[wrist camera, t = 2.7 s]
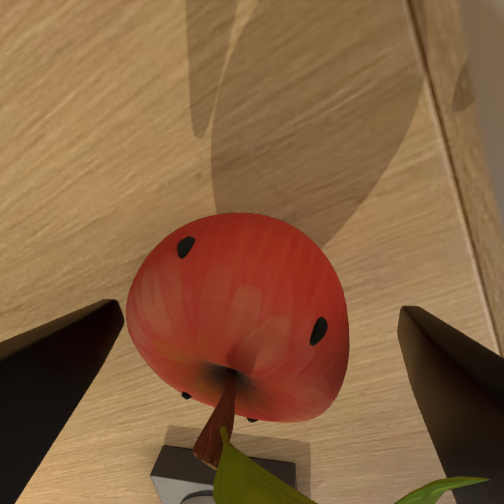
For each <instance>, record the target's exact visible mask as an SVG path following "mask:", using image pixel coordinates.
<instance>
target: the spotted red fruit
mask: <svg viewBox="0 0 504 504" xmlns="http://www.w3.org/2000/svg"><path fill="white" fill-rule="evenodd" d="M126 320H127V327H128V331H129V334H130V336H131V339H132V341H133V343H134V345H135V347H136V348H137V350H138V352H139V353H140V355H141V356H142V357H143V359H144V360H145V361H146V363H147V364H148V365H149V366H150V367H151V369H152V370H153V371H154V372H155V373H156V374H157V375H158V376H159V377H160V378H161V379H162V380H163V381H165V382H166V383H167V384H168V385H170V386H171V387H173V388H174V389H176V390H177V391H179V392H180V393H182V397H183V398H185V399H186V400H187V399H189V398H192V399H195V400H197V401H199V402H202V403H204V404H207V405H209V406H212V407H215V410H214V411H213V413H212V415H211V417H210V418H209V420H208V422H207V424H206V425H205V427H204V429H203V430H202V432H201V434H200V436H199V437H198V439H197V441H196V443H195V445H194V448H193V454H194V456H196V457H197V458H198V459H200V460H201V461H202V462H204V463H205V464H207V465H208V466H210V467H211V468H213V469H215V470H217V472H216V476H215V479H214V483H213V500H214V501H215V503H216V504H317V503H316V502H314V501H312V500H310V499H309V498H307V497H306V496H304V495H303V494H301V493H300V492H298V491H297V490H295V489H294V488H292V487H291V486H289V485H288V484H286V483H285V482H283V481H282V480H280V479H279V478H277V477H276V476H274V475H273V474H271V473H270V472H268V471H267V470H265V469H264V468H262V467H261V466H259V465H258V464H257V463H255V462H254V461H252V460H251V459H250V458H248V457H247V456H245V455H244V454H243V453H241V452H240V451H239V450H237V449H236V448H235V447H234V446H233V445H232V444H231V443H230V438H231V434H232V430H233V423H234V415H235V414H236V415H239V416H243V417H247V419H248V421H249V422H256V421H258V420H262V421H271V422H283V423H291V422H302V421H307V420H310V419H313V418H316V417H317V416H319V415H321V414H322V413H323V412H325V411H326V410H327V409H328V408H329V407H330V406H331V404H332V403H333V401H334V400H335V398H336V397H337V395H338V393H339V391H340V389H341V386H342V384H343V380H344V377H345V374H346V370H347V365H348V358H349V323H348V315H347V306H346V302H345V297H344V292H343V289H342V286H341V283H340V281H339V278H338V276H337V274H336V272H335V270H334V268H333V267H332V265H331V263H330V262H329V260H328V259H327V257H326V256H325V255H324V253H323V252H322V251H321V249H320V248H319V247H318V246H317V245H316V244H315V243H314V242H313V241H312V240H311V239H310V238H308V237H307V236H306V235H305V234H304V233H302V232H301V231H299V230H298V229H297V228H295V227H293V226H291V225H290V224H288V223H286V222H283V221H281V220H278V219H275V218H272V217H269V216H265V215H260V214H252V213H226V214H218V215H213V216H208V217H205V218H201V219H198V220H196V221H193V222H191V223H188V224H186V225H184V226H182V227H181V228H179V229H177V230H175V231H174V232H173V233H171V234H170V235H168V236H167V237H166V238H164V239H163V240H162V241H161V242H160V243H159V244H158V245H157V246H156V247H155V248H154V249H153V250H152V252H151V253H150V254H149V255H148V256H147V258H146V259H145V261H144V262H143V264H142V265H141V267H140V268H139V270H138V272H137V274H136V276H135V278H134V280H133V283H132V285H131V288H130V291H129V295H128V299H127V305H126ZM487 480H490V479H487V478H479V477H459V476H458V477H452V478H446V479H440V480H436V481H433V482H431V483H429V484H427V485H425V486H423V487H421V488H418V489H416V490H414V491H412V492H410V493H409V494H407V495H406V496H404V497H403V498H401V499H400V500H398V501H397V502H396V503H394V504H434V503H435V502H436V501H437V500H438V499H439V498H440V496H441V495H442V494H443V493H444V492H445V491H446V490H450V489H454V488H458V487H462V486H467V485H471V484H475V483H479V482H483V481H487Z"/></svg>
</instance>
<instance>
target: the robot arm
mask: <svg viewBox="0 0 504 504" xmlns="http://www.w3.org/2000/svg"><path fill="white" fill-rule="evenodd" d="M123 325H124V317H123V314H122V311H121V308H120V305H119V303H118V301H117V300H115V299H103V300H101V301H98V302H96V303H94V304H91V305H89V306H86V307H84V308H82V309H79V310H77V311H74V312H72V313H70V314H67V315H65V316H62V317H60V318H58V319H55V320H53V321H50V322H48V323H46V324H43V325H41V326H39V327H36V328H34V329H31V330H29V331H27V332H24V333H22V334H19V335H17V336H15V337H12V338H10V339H7V340H5V341H3V342H0V504H15V502H16V501H17V499H18V498H19V496H20V495H21V493H22V491H23V490H24V488H25V487H26V485H27V484H28V482H29V480H30V479H31V477H32V476H33V474H34V473H35V471H36V469H37V468H38V466H39V465H40V463H41V462H42V460H43V459H44V457H45V455H46V454H47V452H48V451H49V449H50V448H51V446H52V444H53V443H54V441H55V440H56V438H57V437H58V435H59V433H60V432H61V430H62V429H63V427H64V426H65V424H66V422H67V421H68V419H69V418H70V416H71V415H72V413H73V411H74V410H75V408H76V407H77V405H78V404H79V402H80V401H81V399H82V397H83V396H84V394H85V393H86V391H87V390H88V388H89V386H90V385H91V383H92V382H93V380H94V379H95V377H96V375H97V374H98V372H99V371H100V369H101V367H102V366H103V364H104V362H105V360H106V358H107V356H108V355H109V353H110V351H111V349H112V347H113V345H114V343H115V341H116V339H117V337H118V335H119V333H120V331H121V330H122V328H123ZM397 334H398V339H399V343H400V347H401V351H402V354H403V358H404V362H405V366H406V369H407V373H408V377H409V381H410V384H411V388H412V391H413V393H414V396H415V399H416V401H417V404H418V406H419V409H420V412H421V414H422V417H423V419H424V422H425V424H426V427H427V429H428V432H429V434H430V437H431V439H432V442H433V444H434V447H435V449H436V452H437V455H438V457H439V460H440V462H441V465H442V467H443V470H444V472H445V475H446V477H447V478H452V477H458V476H459V477H479V478H487V479H490V480H487V481H483V482H479V483H475V484H471V485H467V486H462V487H458V488H454V489H451V490H452V493H453V495H454V498H455V500H456V503H457V504H504V358H502V357H501V356H499V355H497V354H496V353H494V352H492V351H491V350H489V349H487V348H486V347H484V346H483V345H481V344H479V343H478V342H476V341H474V340H473V339H471V338H470V337H468V336H466V335H465V334H463V333H461V332H460V331H458V330H457V329H455V328H453V327H452V326H450V325H448V324H447V323H445V322H444V321H442V320H440V319H439V318H437V317H435V316H434V315H432V314H431V313H429V312H427V311H426V310H424V309H422V308H421V307H419V306H402V307H401V310H400V315H399V322H398V329H397Z"/></svg>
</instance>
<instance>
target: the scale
mask: <svg viewBox="0 0 504 504" xmlns="http://www.w3.org/2000/svg"><path fill="white" fill-rule="evenodd" d="M248 458H249V457H248ZM250 459H251V460H252V461H254V462H255V463H257V464H258V465H259V466H261V467H262V468H264V469H265V470H267V471H268V472H270V473H271V474H273V475H274V476H276V477H277V478H279V479H280V480H282V481H283V482H285V483H286V484H288V485H289V486H291V487H292V488H294V489H295V490H297V483H296V465H295V464H293V463H286V462H278V461H271V460H264V459H256V458H250ZM216 472H217V470H215V469H213V468H211V467H210V466H208V465H207V464H205V463H204V462H202V461H201V460H200V459H198V458H197V457H196V456H194V454H193V450H191V449H183V448H176V447H169V446H163V447H162V449H161V451H160V454H159V456H158V458H157V460H156V463H155V465H154V467H153V469H152V472H151V474H150V477H151V479H152V481H153V484H154V486H155V488H156V491H157V493H158V495H159V498H160V500H161V503H162V504H216V503H215V501H214V500H213V483H214V479H215V476H216Z"/></svg>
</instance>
